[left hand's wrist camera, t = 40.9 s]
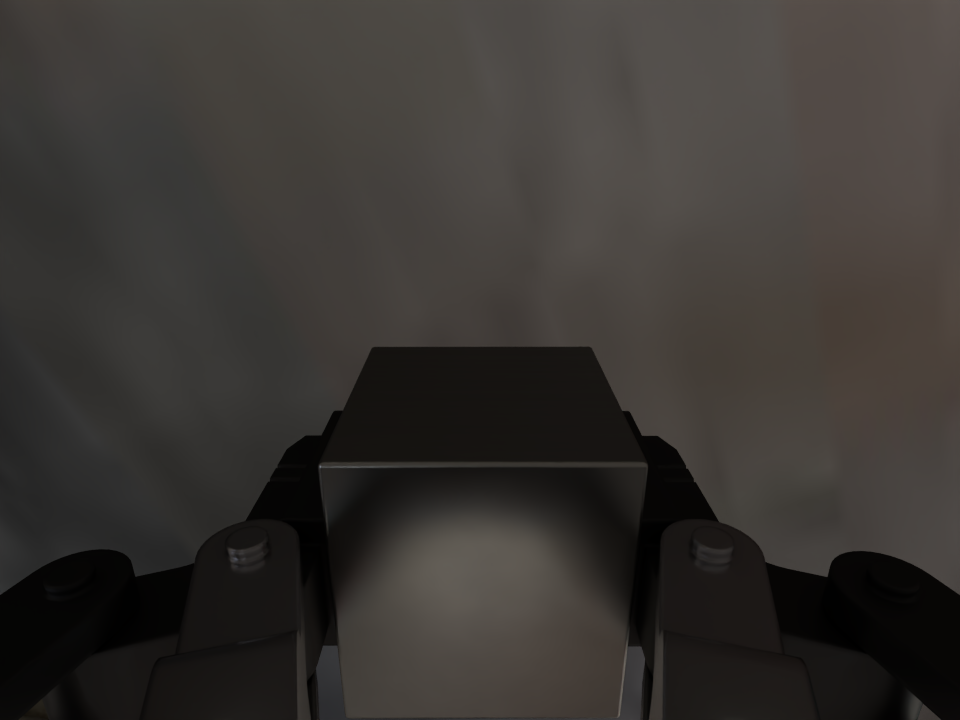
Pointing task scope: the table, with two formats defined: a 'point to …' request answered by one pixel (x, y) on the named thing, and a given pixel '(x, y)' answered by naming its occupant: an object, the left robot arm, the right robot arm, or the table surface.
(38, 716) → the pair of gloves
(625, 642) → the metal block
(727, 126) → the table surface
